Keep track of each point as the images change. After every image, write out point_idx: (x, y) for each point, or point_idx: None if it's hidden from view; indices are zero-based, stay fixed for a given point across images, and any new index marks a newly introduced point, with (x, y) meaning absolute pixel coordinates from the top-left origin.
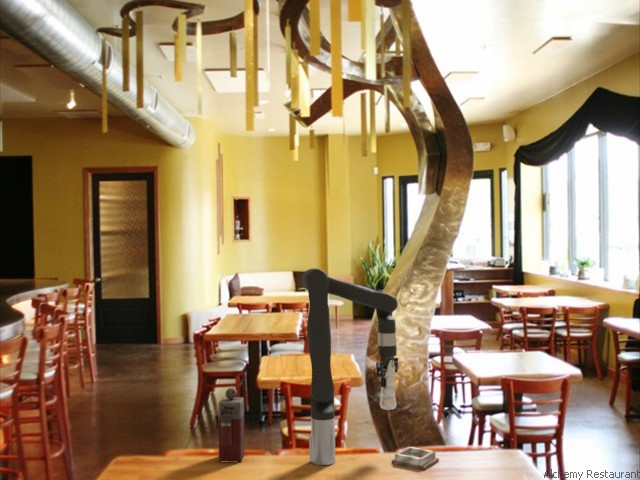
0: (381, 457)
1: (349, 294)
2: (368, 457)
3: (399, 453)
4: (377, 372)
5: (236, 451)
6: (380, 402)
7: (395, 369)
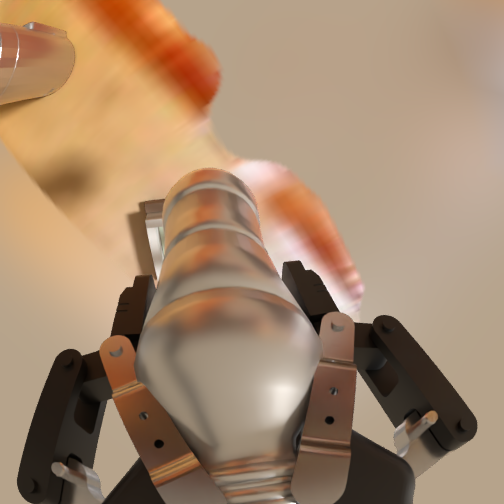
0: (167, 151)
1: None
2: (144, 123)
3: (158, 226)
4: (47, 394)
5: None
6: (168, 195)
7: (367, 376)
